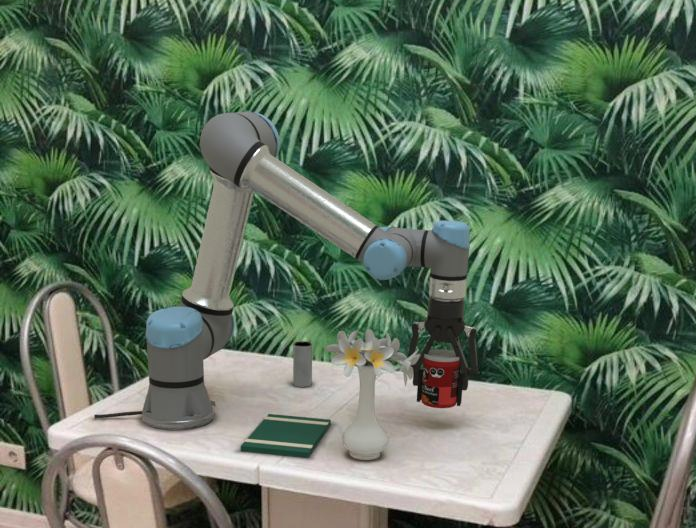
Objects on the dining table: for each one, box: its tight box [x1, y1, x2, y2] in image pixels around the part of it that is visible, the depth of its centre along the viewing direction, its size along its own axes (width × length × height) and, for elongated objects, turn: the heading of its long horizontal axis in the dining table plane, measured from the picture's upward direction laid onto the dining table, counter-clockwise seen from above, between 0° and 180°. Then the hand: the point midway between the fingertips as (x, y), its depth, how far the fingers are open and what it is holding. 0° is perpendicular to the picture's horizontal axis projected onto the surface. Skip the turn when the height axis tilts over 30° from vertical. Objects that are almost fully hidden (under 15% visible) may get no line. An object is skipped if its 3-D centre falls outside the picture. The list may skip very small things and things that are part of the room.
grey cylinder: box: [292, 341, 313, 388], centre depth 231 cm, size 4×4×10 cm
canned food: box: [420, 348, 461, 409], centre depth 204 cm, size 8×8×11 cm
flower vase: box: [324, 328, 421, 461], centre depth 187 cm, size 13×18×25 cm
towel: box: [240, 413, 332, 459], centre depth 199 cm, size 14×20×1 cm
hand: (438, 401), depth 206 cm, fingers closed on canned food, 8 cm apart
